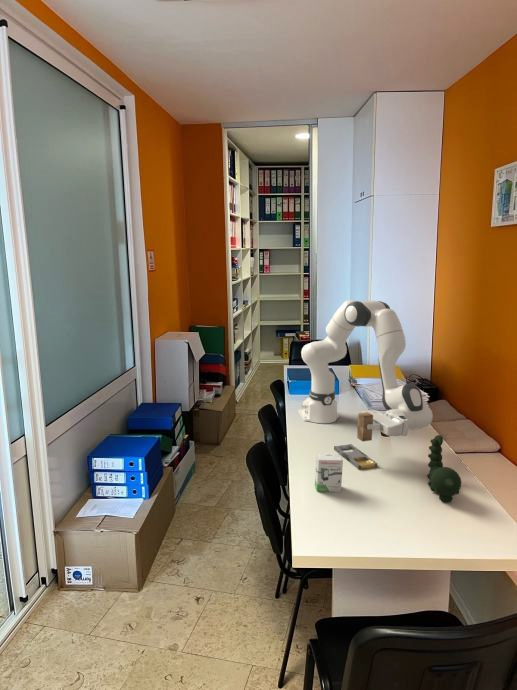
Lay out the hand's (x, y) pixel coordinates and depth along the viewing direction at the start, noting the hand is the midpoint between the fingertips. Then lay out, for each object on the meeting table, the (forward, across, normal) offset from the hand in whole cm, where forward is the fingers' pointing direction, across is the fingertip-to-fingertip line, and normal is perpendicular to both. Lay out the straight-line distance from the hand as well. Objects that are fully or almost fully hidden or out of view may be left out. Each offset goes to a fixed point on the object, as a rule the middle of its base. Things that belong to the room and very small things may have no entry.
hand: (363, 424), depth 190 cm
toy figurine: (-15, +28, +17) cm, 36 cm away
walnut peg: (-1, 0, +6) cm, 6 cm away
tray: (-1, -6, +16) cm, 17 cm away
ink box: (+21, +14, +17) cm, 30 cm away
